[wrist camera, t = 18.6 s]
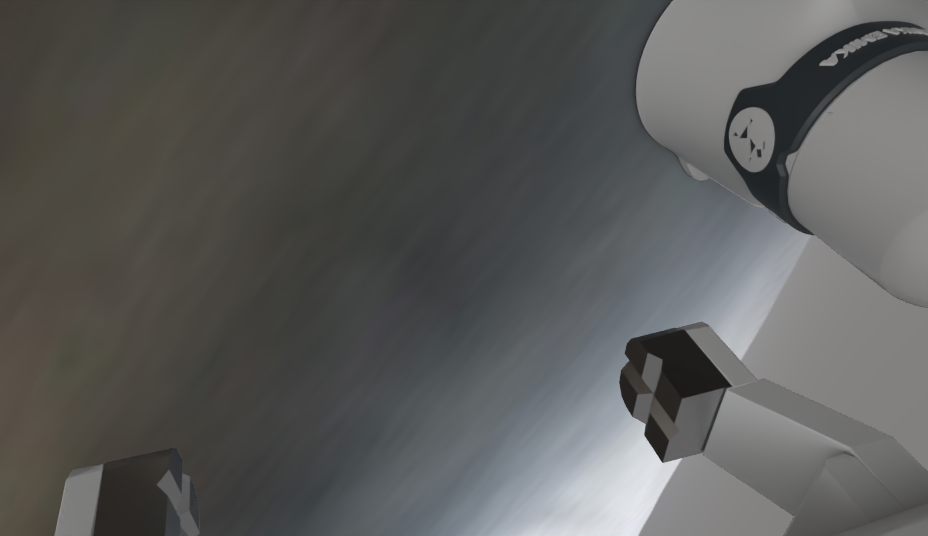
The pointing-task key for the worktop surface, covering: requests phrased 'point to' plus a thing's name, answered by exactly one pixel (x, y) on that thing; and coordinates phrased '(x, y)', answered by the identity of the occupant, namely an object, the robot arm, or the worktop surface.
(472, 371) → the worktop surface
